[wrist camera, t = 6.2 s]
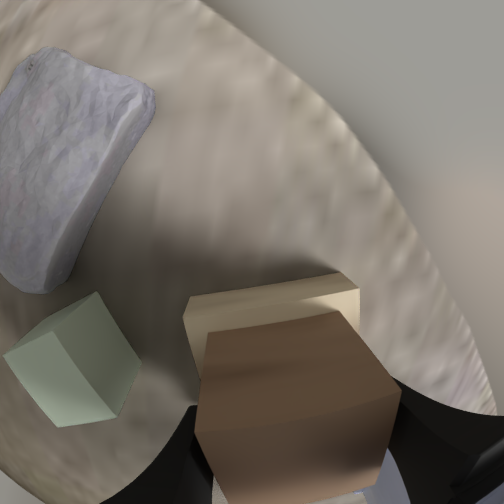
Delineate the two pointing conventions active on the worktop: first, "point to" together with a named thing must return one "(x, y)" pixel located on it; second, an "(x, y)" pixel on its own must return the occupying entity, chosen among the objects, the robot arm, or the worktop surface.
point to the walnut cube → (294, 411)
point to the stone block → (60, 160)
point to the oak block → (268, 307)
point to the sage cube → (76, 364)
